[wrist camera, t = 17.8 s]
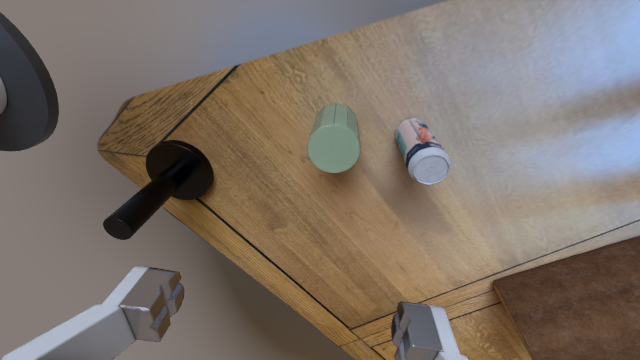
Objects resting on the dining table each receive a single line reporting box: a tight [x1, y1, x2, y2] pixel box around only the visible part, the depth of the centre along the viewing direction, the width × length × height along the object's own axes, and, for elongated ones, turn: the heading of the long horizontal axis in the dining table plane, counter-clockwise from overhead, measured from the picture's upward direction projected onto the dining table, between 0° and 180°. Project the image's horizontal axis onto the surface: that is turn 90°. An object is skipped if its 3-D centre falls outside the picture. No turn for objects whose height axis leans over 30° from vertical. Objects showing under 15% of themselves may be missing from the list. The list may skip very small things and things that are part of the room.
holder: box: [103, 140, 213, 240], centre depth 42 cm, size 11×11×16 cm
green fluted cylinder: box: [308, 103, 360, 173], centre depth 38 cm, size 6×6×10 cm
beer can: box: [395, 118, 451, 185], centre depth 37 cm, size 5×5×12 cm
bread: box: [493, 236, 640, 360], centre depth 47 cm, size 14×34×14 cm, turn 123°
